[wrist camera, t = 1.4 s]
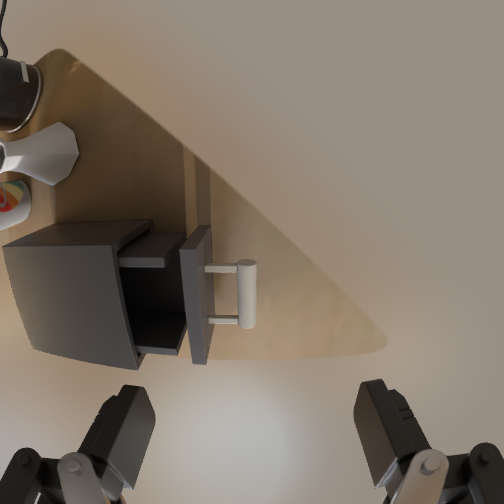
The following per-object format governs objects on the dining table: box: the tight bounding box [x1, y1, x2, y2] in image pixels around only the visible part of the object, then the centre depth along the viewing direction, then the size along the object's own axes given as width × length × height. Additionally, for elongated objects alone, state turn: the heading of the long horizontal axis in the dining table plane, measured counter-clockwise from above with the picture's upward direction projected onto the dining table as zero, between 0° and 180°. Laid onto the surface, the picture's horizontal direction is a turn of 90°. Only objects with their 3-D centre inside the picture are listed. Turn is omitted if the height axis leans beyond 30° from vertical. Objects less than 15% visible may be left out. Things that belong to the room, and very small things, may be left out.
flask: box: [0, 121, 79, 186], centre depth 20 cm, size 7×7×10 cm
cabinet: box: [2, 219, 154, 370], centre depth 25 cm, size 14×12×10 cm
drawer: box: [116, 225, 257, 365], centre depth 25 cm, size 17×10×8 cm, turn 90°
